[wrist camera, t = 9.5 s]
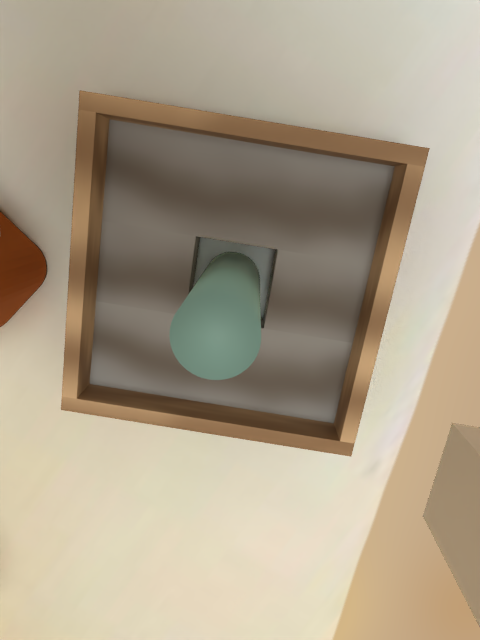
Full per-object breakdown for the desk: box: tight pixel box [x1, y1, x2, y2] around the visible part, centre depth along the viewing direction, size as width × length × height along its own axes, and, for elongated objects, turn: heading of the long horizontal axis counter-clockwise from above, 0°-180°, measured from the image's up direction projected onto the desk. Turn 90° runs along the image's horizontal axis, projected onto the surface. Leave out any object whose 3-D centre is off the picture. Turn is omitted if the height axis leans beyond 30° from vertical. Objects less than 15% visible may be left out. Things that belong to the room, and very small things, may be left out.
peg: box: [169, 252, 261, 380], centre depth 27 cm, size 4×4×14 cm
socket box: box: [61, 91, 429, 456], centre depth 31 cm, size 20×20×5 cm
